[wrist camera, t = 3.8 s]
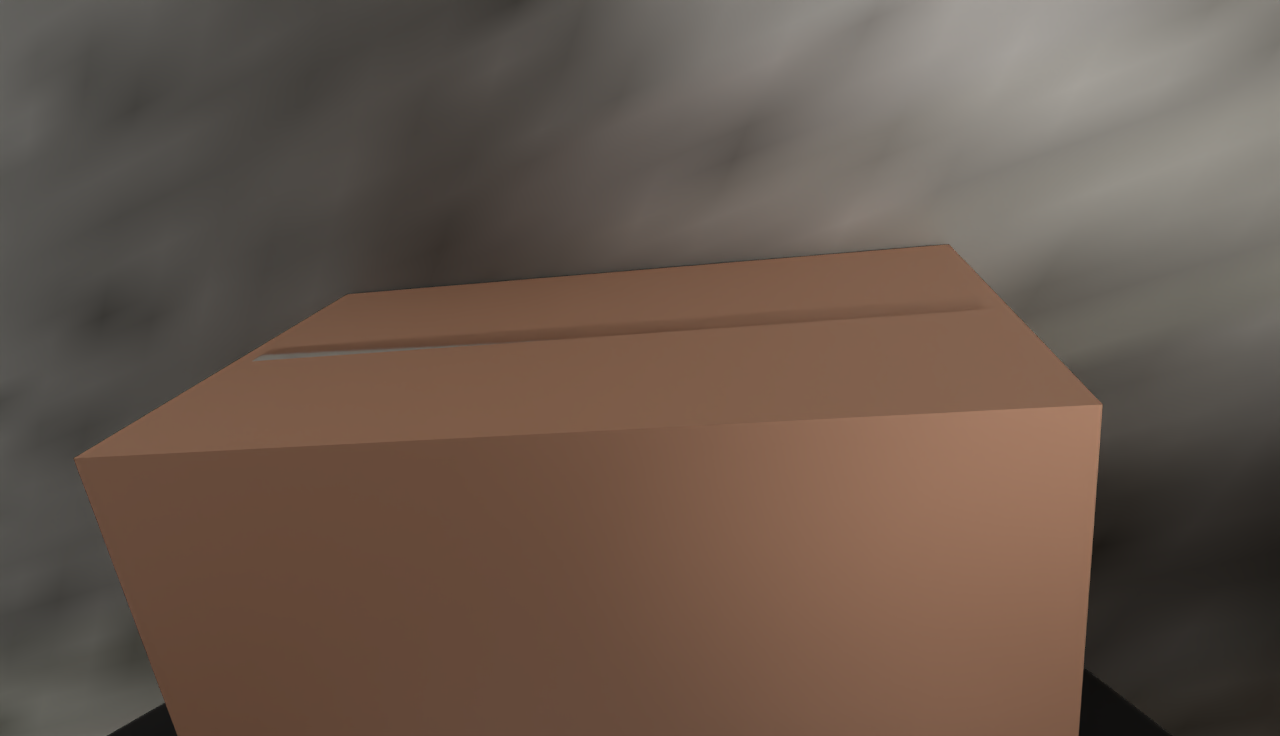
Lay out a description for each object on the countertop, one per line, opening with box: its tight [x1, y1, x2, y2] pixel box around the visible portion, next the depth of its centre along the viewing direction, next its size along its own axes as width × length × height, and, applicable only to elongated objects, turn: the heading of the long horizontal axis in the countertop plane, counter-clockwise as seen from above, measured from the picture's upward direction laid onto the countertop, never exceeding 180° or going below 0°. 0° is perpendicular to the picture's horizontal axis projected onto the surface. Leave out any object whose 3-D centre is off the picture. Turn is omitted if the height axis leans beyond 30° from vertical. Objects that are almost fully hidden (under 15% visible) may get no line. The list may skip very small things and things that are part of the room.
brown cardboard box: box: [74, 244, 1103, 736], centre depth 7 cm, size 7×6×4 cm
